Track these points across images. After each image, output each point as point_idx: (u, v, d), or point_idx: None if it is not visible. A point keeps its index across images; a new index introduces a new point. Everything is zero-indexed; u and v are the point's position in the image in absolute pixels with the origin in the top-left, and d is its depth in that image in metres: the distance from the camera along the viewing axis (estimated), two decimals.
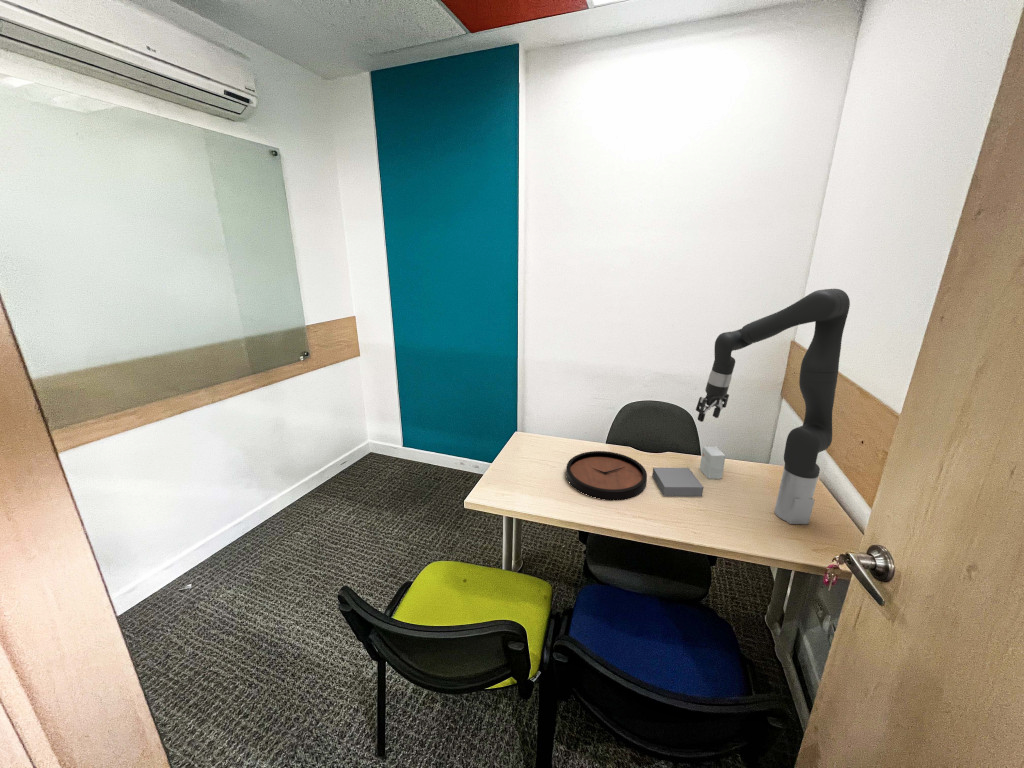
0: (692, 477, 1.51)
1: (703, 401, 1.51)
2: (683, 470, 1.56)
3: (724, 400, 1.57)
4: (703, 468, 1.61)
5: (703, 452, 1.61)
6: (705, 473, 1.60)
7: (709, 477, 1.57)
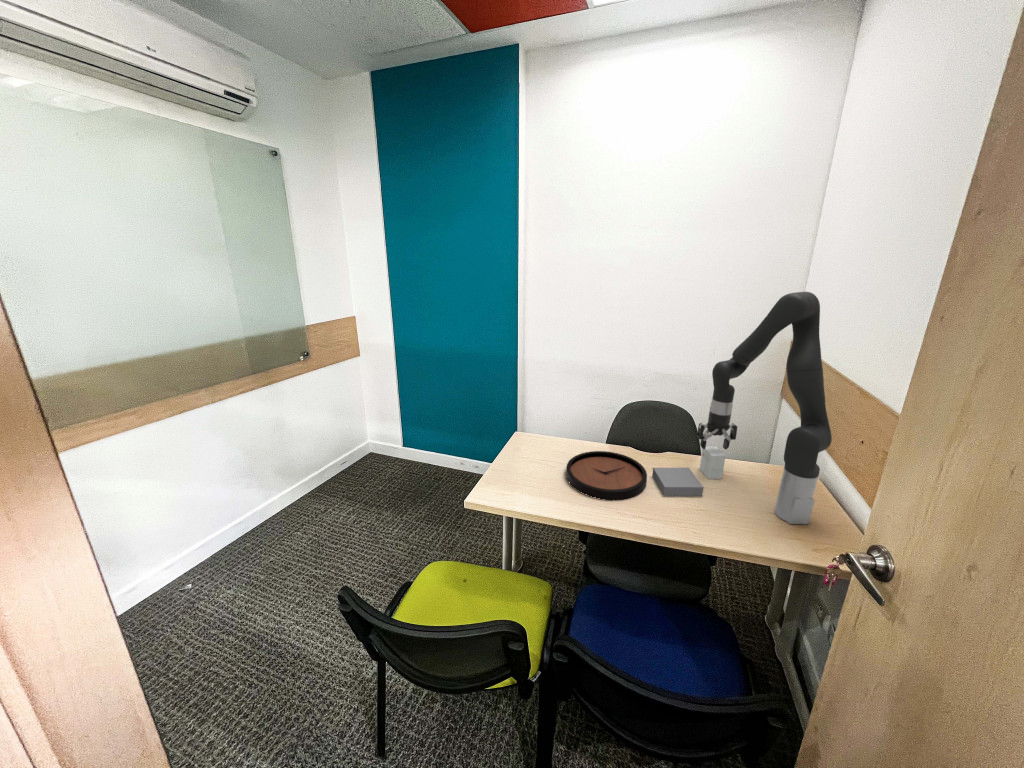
0: (692, 477, 1.51)
1: (701, 427, 1.54)
2: (683, 470, 1.56)
3: (732, 431, 1.55)
4: (703, 468, 1.61)
5: (703, 452, 1.61)
6: (705, 473, 1.60)
7: (709, 477, 1.57)
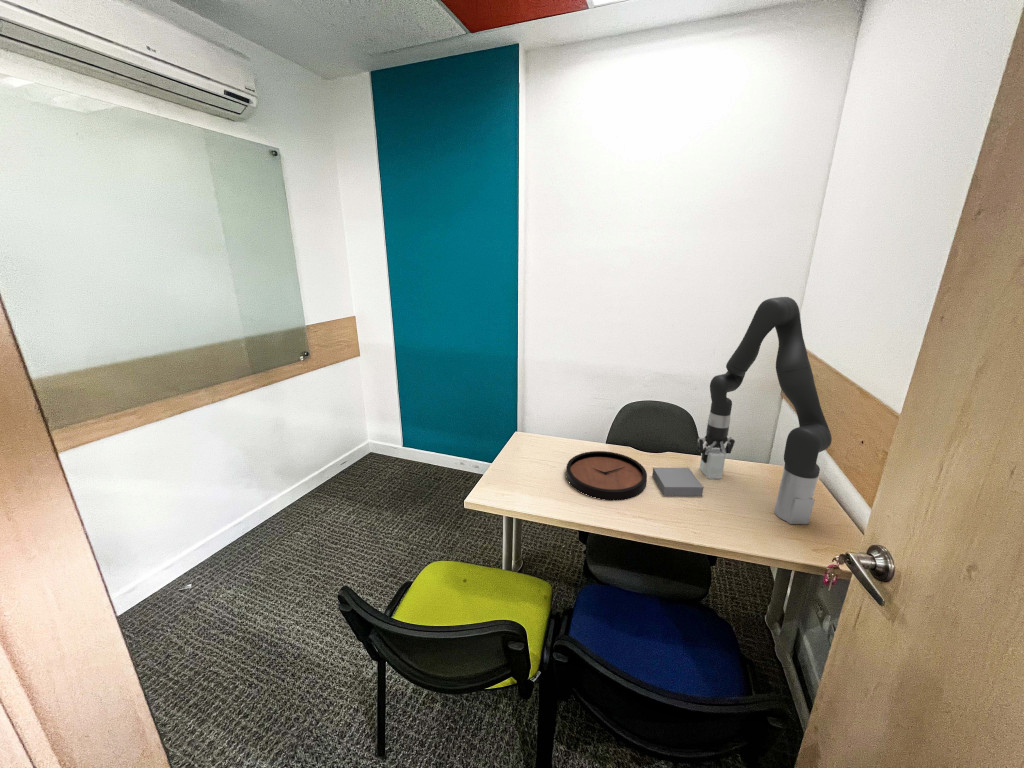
0: (692, 477, 1.51)
1: (699, 441, 1.56)
2: (683, 470, 1.56)
3: (729, 445, 1.56)
4: (703, 468, 1.61)
5: None
6: (705, 473, 1.60)
7: (709, 477, 1.57)
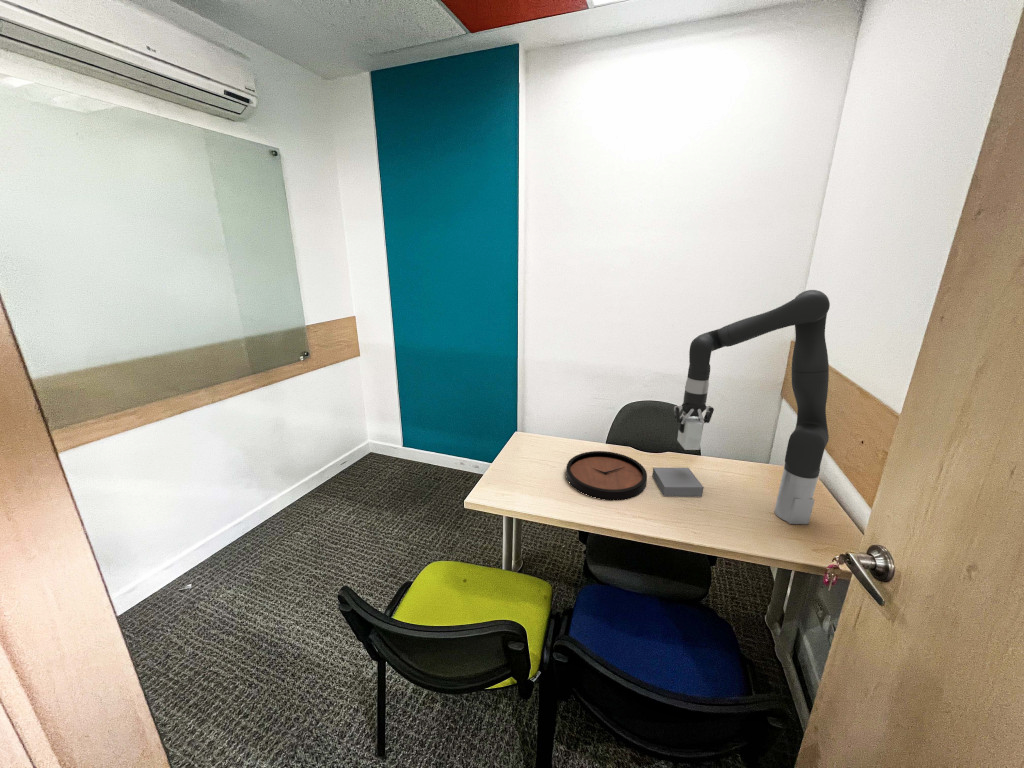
0: (692, 477, 1.51)
1: (675, 409, 1.45)
2: (683, 470, 1.56)
3: (708, 414, 1.45)
4: (680, 439, 1.50)
5: None
6: (682, 444, 1.49)
7: (686, 448, 1.47)
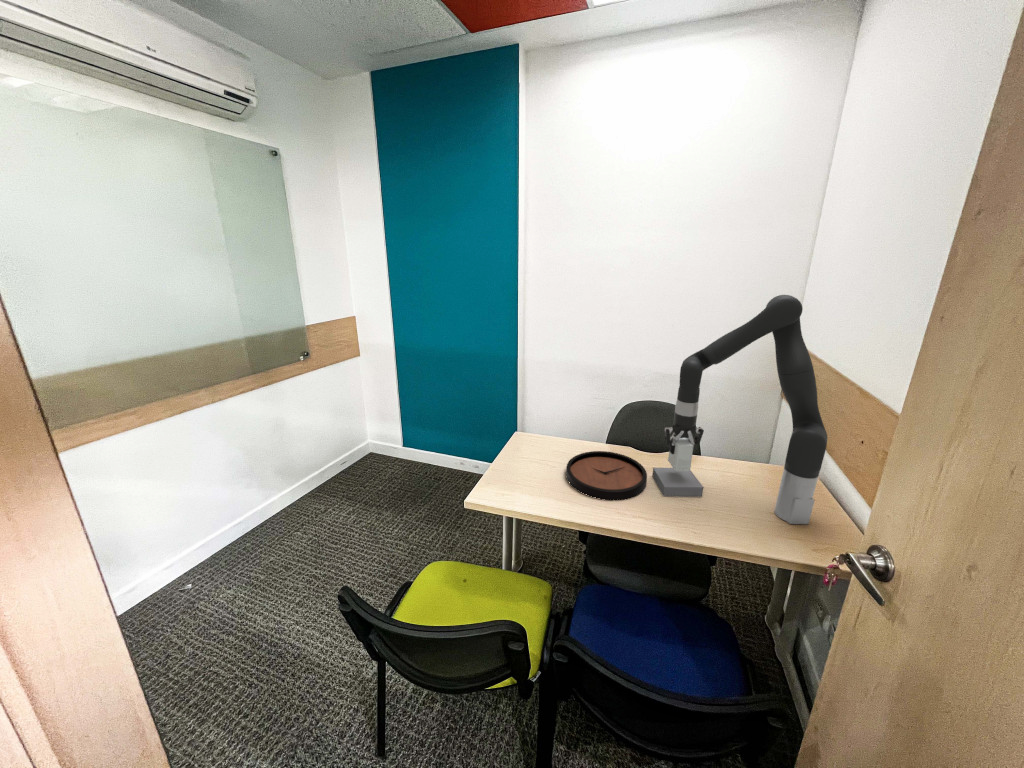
0: (692, 477, 1.51)
1: (665, 431, 1.46)
2: None
3: (698, 435, 1.46)
4: (671, 460, 1.51)
5: None
6: (673, 465, 1.49)
7: (676, 469, 1.47)
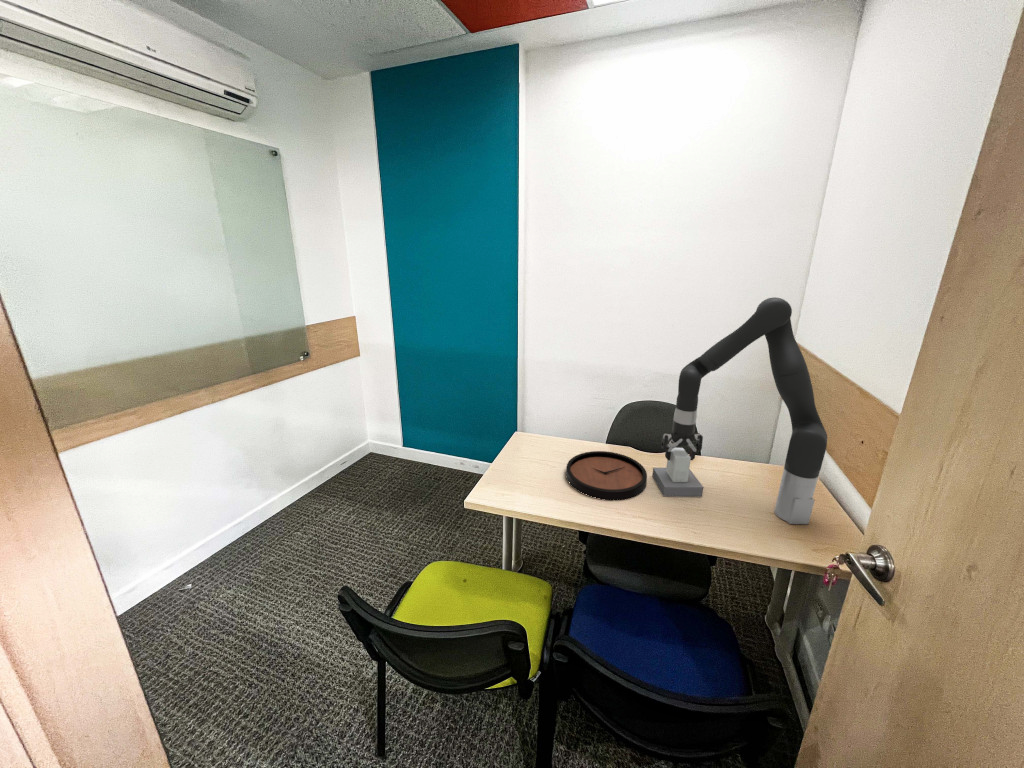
0: (692, 477, 1.51)
1: (664, 437, 1.46)
2: None
3: (698, 442, 1.47)
4: (669, 471, 1.52)
5: None
6: (670, 476, 1.50)
7: (674, 480, 1.48)
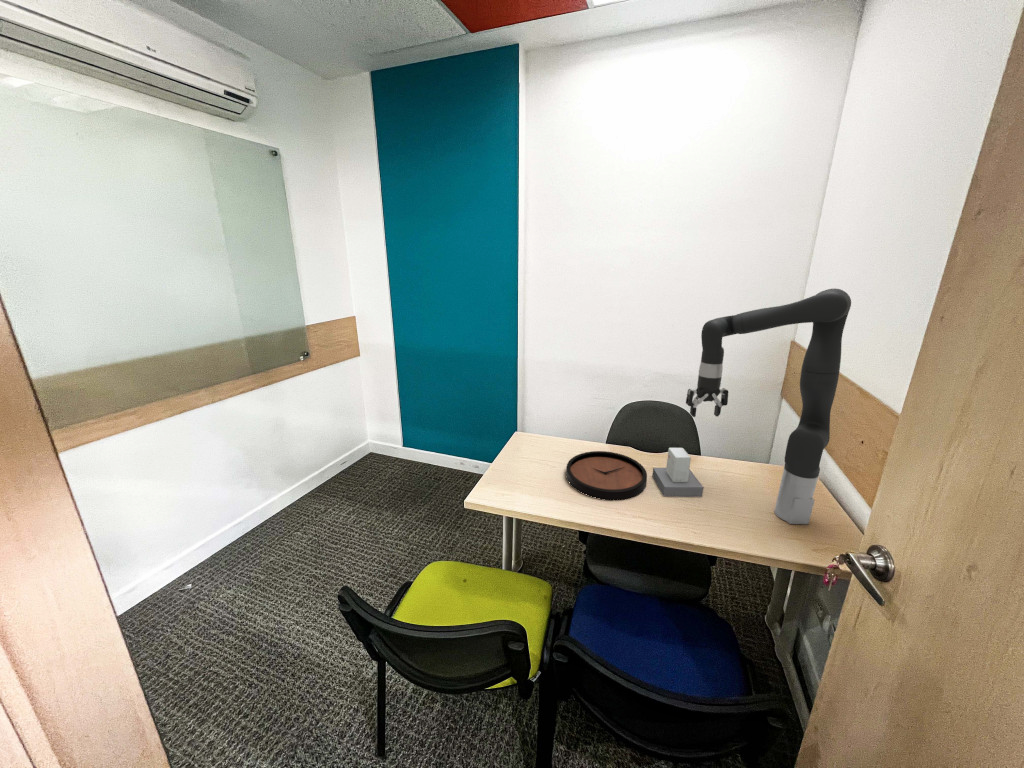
0: (692, 477, 1.51)
1: (690, 393, 1.44)
2: None
3: (723, 397, 1.45)
4: (669, 471, 1.52)
5: (669, 454, 1.52)
6: (670, 476, 1.50)
7: (674, 480, 1.48)
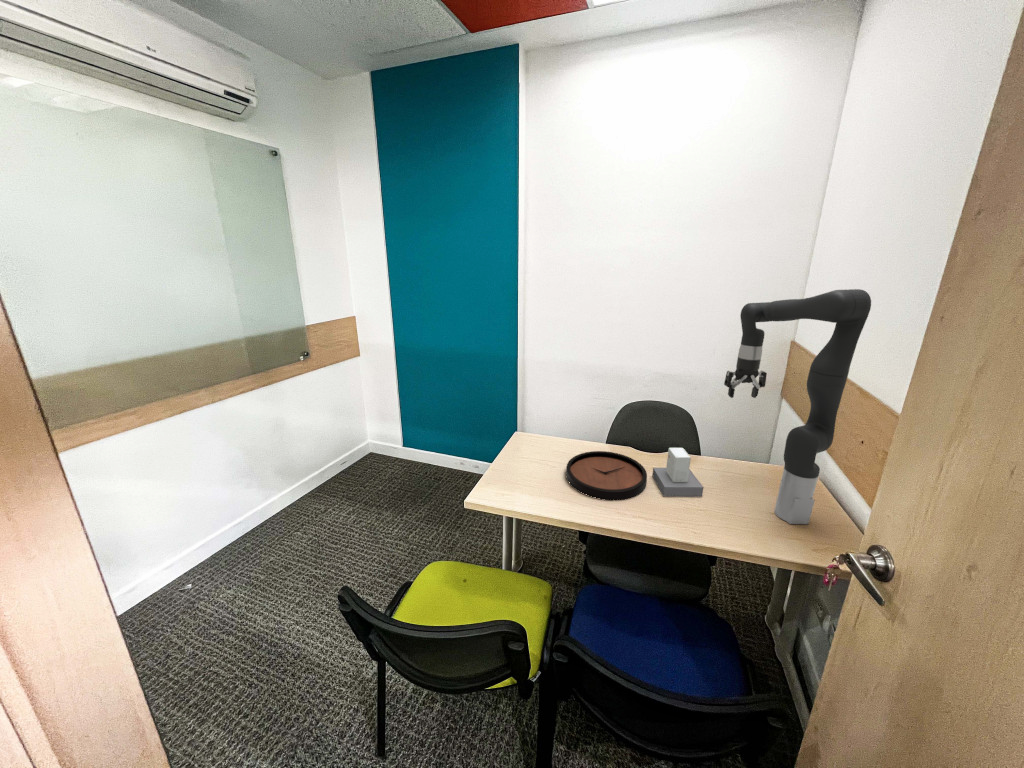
0: (692, 477, 1.51)
1: (729, 374, 1.50)
2: None
3: (762, 378, 1.51)
4: (669, 471, 1.52)
5: (669, 454, 1.52)
6: (670, 476, 1.50)
7: (674, 480, 1.48)
